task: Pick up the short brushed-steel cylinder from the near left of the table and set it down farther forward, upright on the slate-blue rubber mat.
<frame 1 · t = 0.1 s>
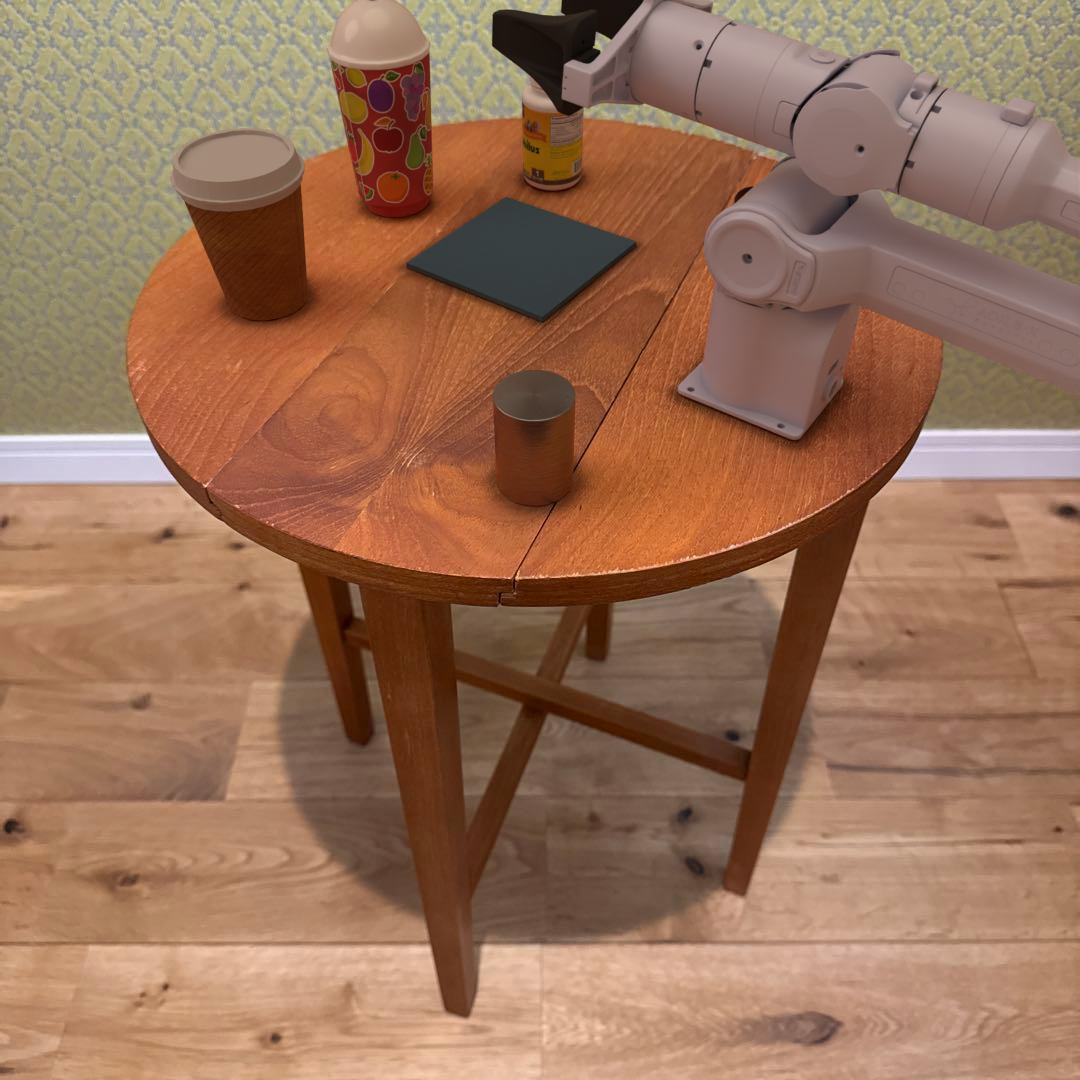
hand: (531, 10, 62), 22 cm above the table, tool horizontal, fingers open, 7 cm apart
supplement bottle: (552, 181, 92), on the table
disposable coffee cup: (269, 301, 78), on the table
mat: (522, 257, 82), on the table
smoothie: (397, 205, 89), on the table
cylinder: (535, 479, 63), on the table
watch: (766, 232, 86), on the table
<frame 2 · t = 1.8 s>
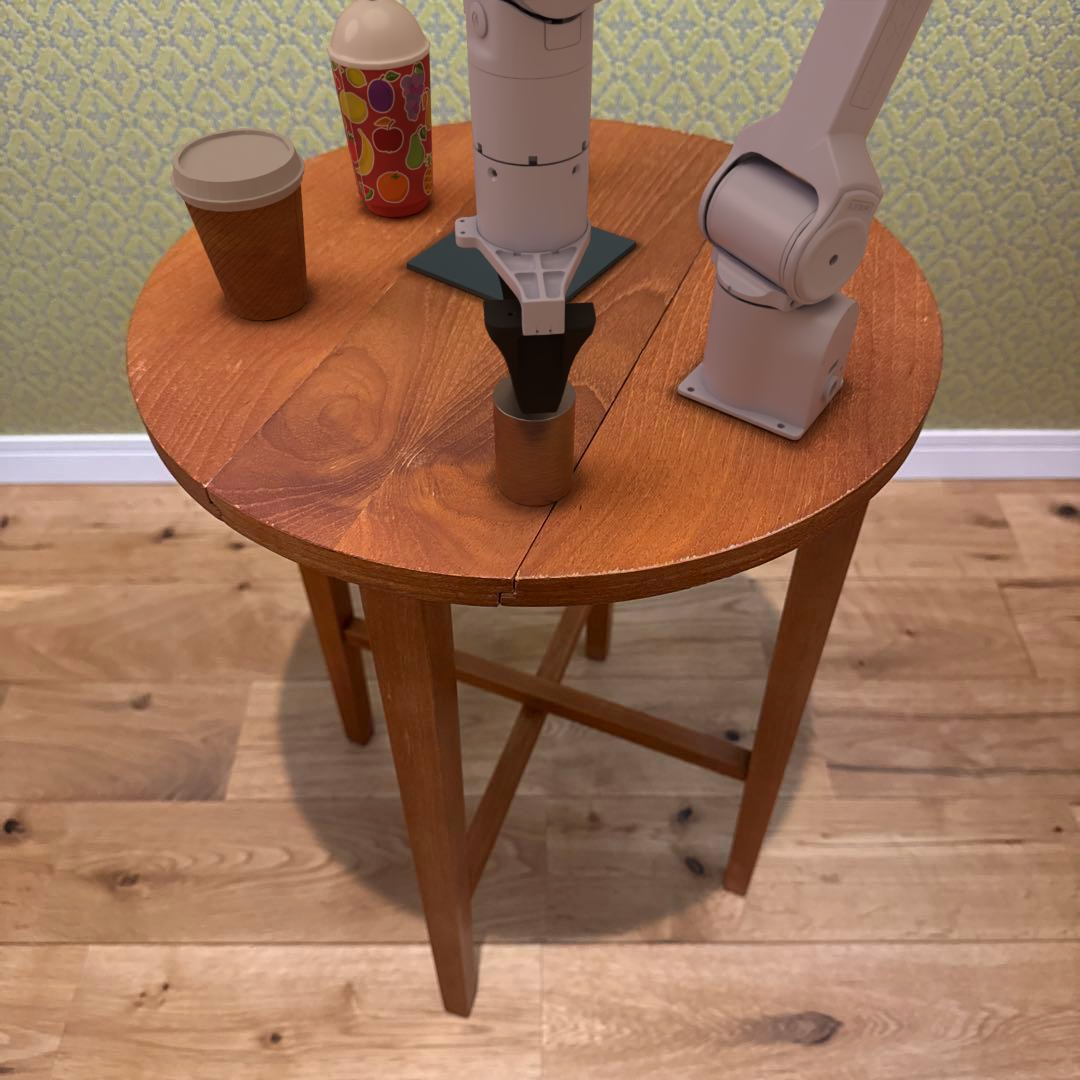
hand: (533, 368, 57), 9 cm above the table, tool pointing down, fingers open, 7 cm apart
nothing on the table moved.
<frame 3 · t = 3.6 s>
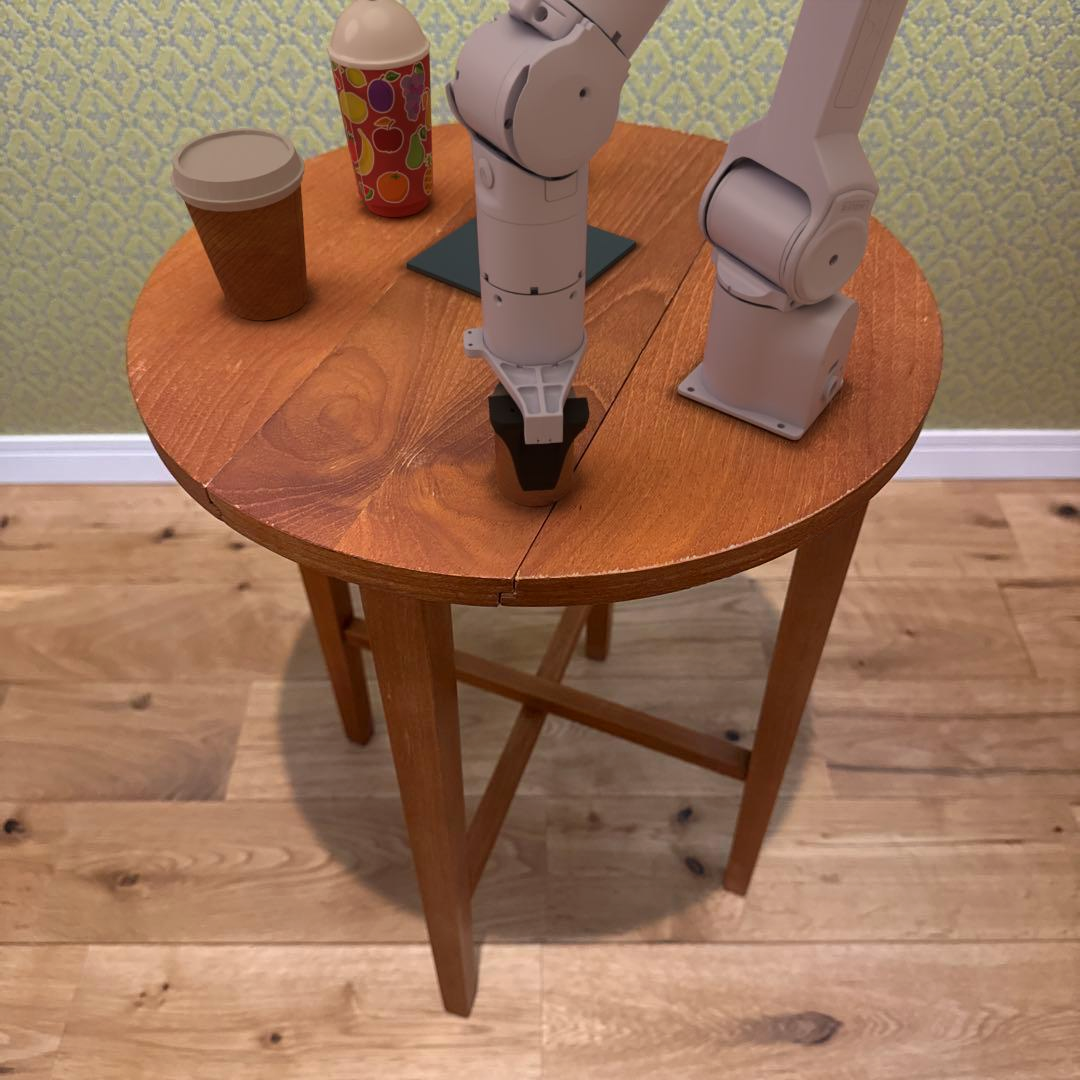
hand: (534, 456, 62), 2 cm above the table, tool pointing down, fingers closed on cylinder, 5 cm apart
cylinder: (535, 479, 63), on the table, touching gripper
everything else where it was.
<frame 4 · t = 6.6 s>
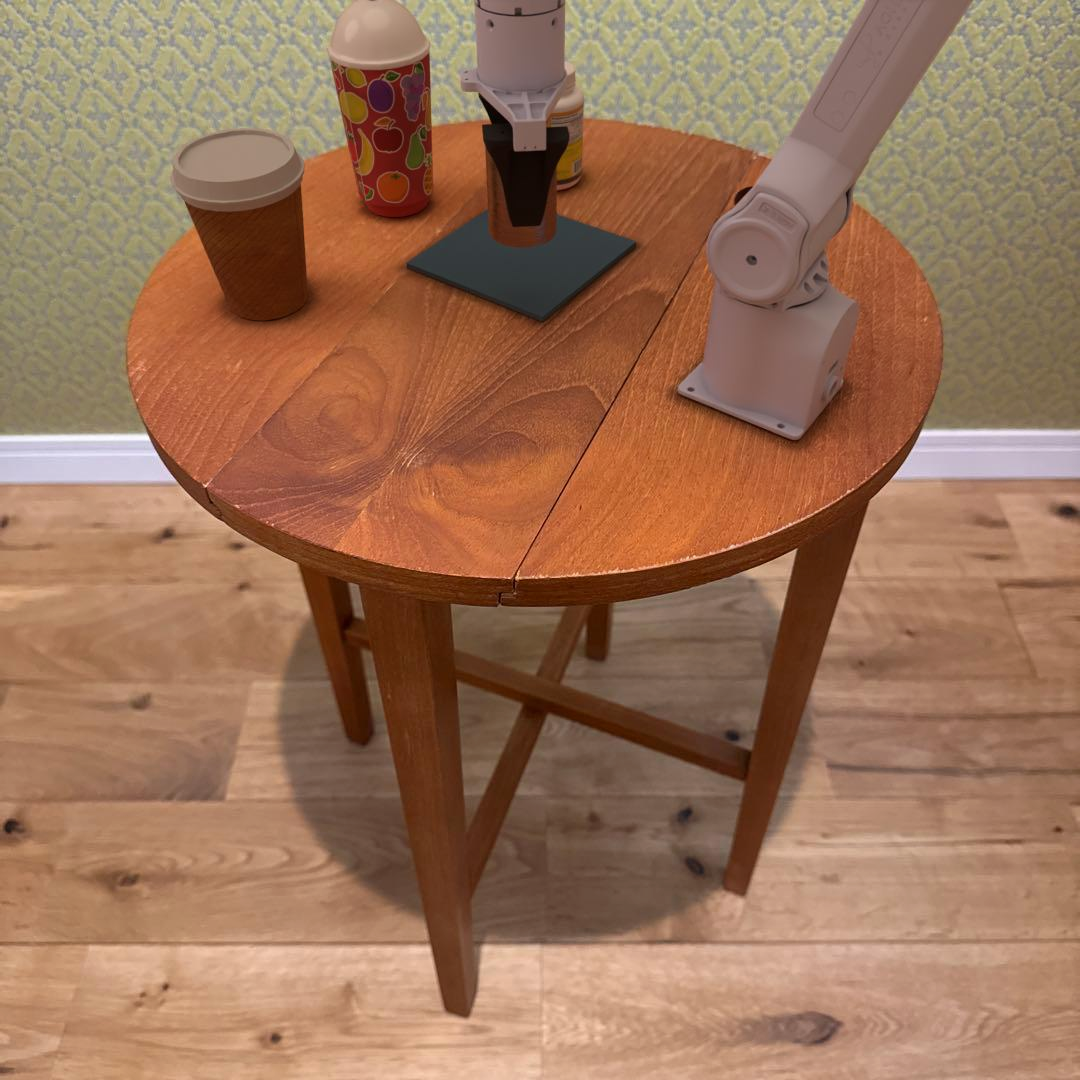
hand: (523, 204, 70), 9 cm above the table, tool pointing down, fingers closed on cylinder, 5 cm apart
cylinder: (522, 230, 72), point 7 cm above the table, touching gripper
everything else where it was.
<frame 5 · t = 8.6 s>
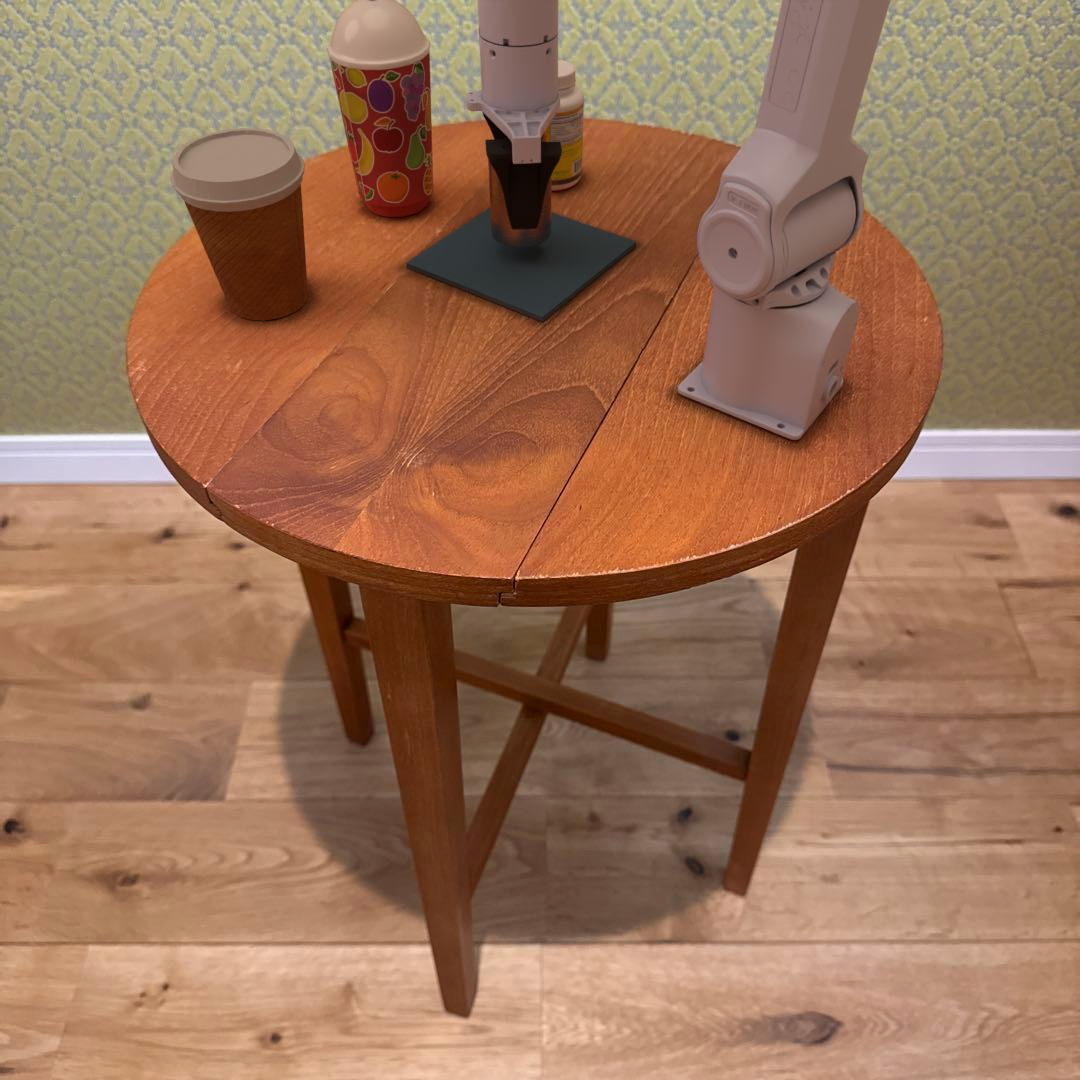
hand: (521, 209, 79), 4 cm above the table, tool pointing down, fingers closed on cylinder, 5 cm apart
cylinder: (521, 232, 81), point 2 cm above the table, touching gripper
everything else where it was.
when the fingers open (2 cm above the table, at t = 10.0 s): cylinder stays where it is, resting on mat.
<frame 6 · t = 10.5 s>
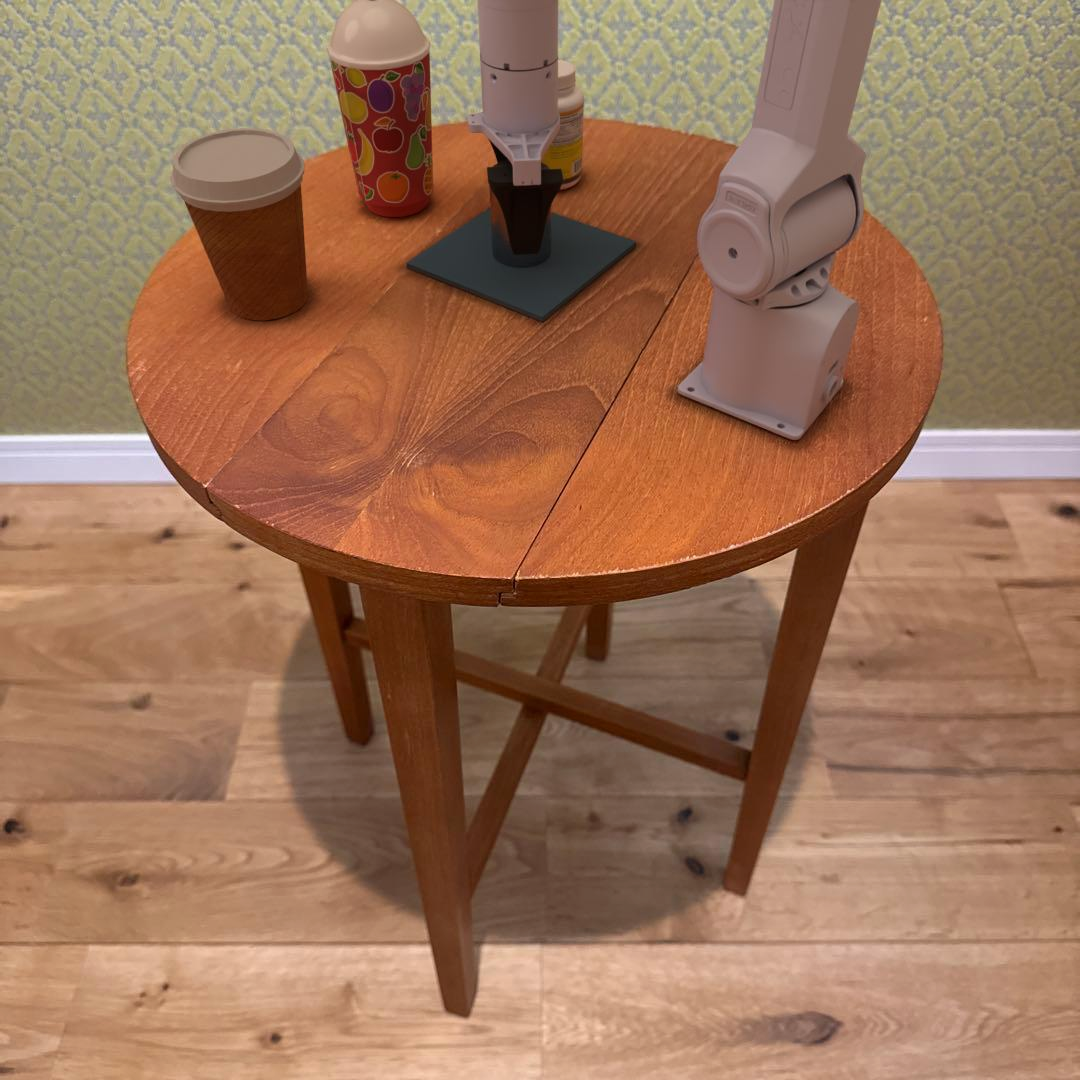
hand: (522, 228, 81), 3 cm above the table, tool pointing down, fingers open, 7 cm apart
cylinder: (521, 251, 82), resting on mat
everything else where it was.
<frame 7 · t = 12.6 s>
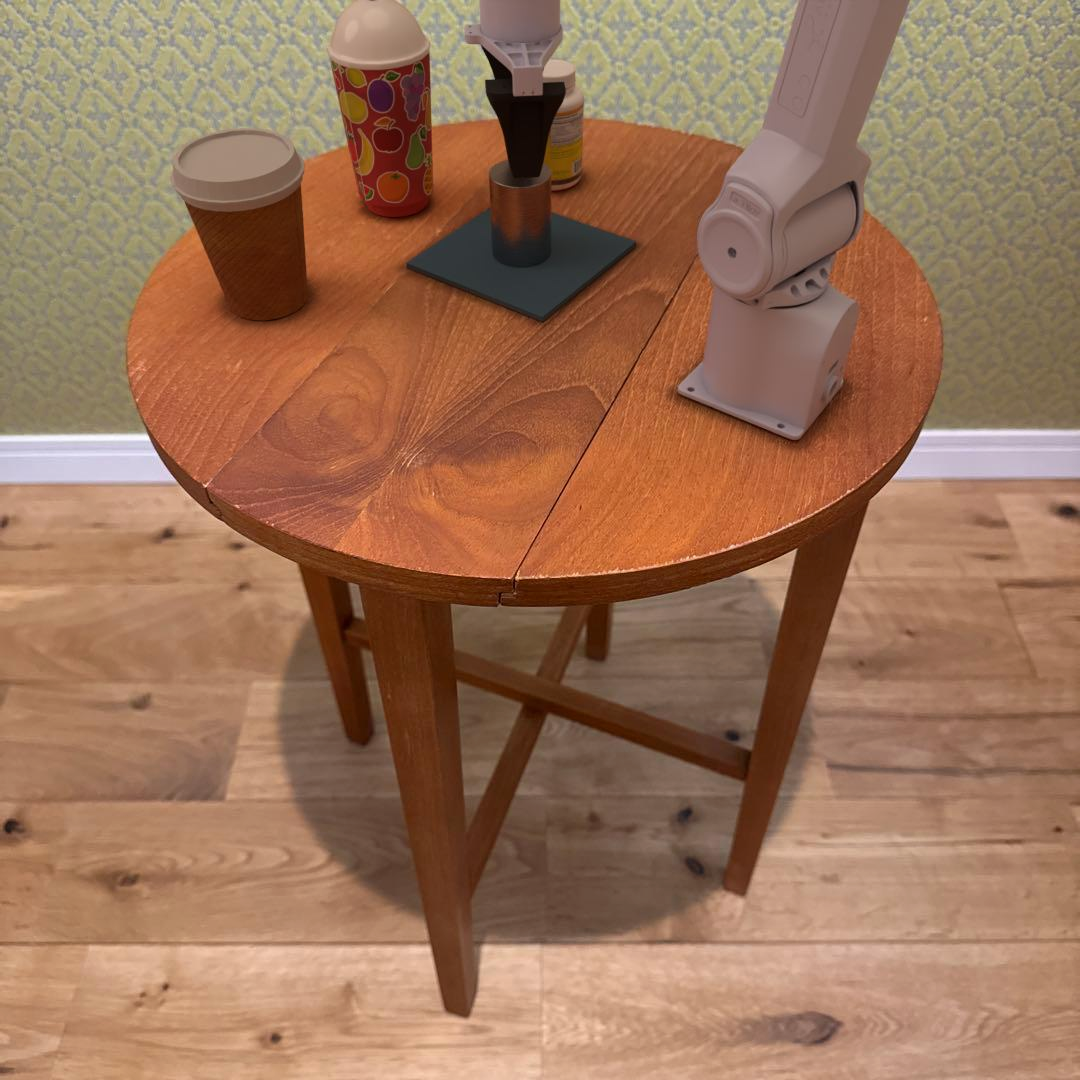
hand: (522, 153, 76), 9 cm above the table, tool pointing down, fingers open, 7 cm apart
nothing on the table moved.
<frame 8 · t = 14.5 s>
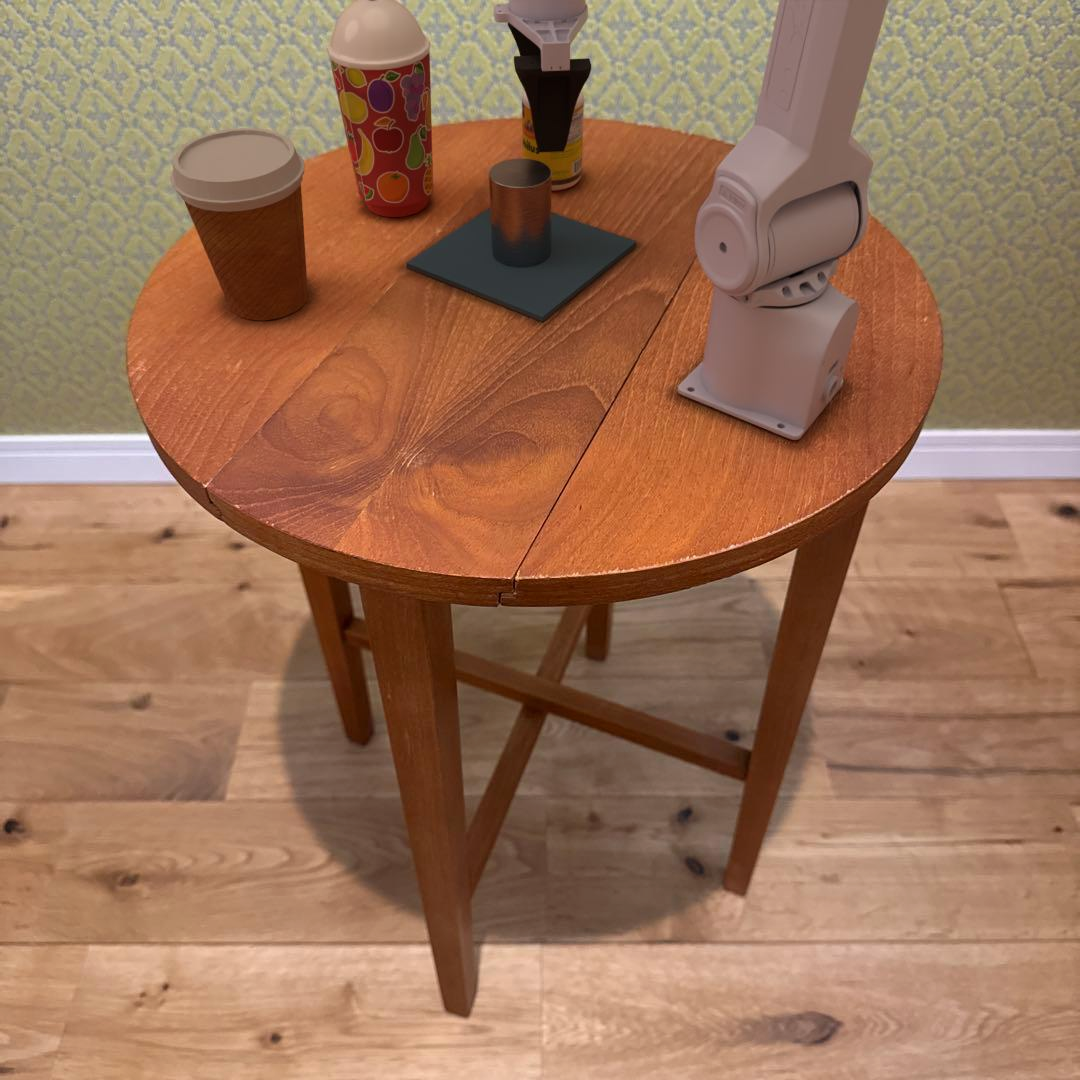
hand: (547, 129, 79), 9 cm above the table, tool pointing down, fingers open, 7 cm apart
nothing on the table moved.
at the end: cylinder inside the target area on the mat (0.1 cm from its centre), point 0.5 cm above the mat's base; cylinder tilted 0°; cylinder moved 27.8 cm from its start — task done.
